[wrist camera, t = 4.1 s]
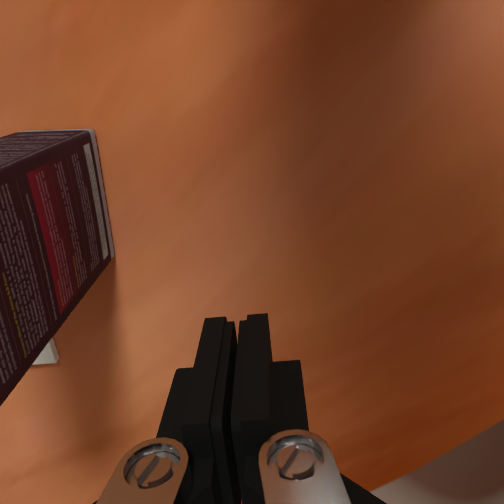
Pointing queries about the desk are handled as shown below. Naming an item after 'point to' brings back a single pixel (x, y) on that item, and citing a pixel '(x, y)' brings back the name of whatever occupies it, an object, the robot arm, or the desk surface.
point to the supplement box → (46, 239)
